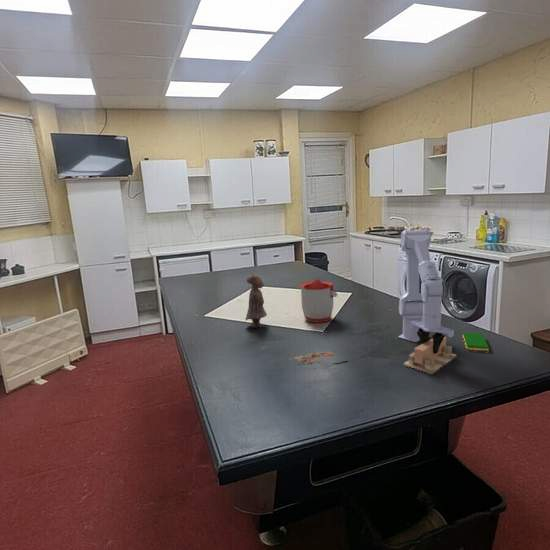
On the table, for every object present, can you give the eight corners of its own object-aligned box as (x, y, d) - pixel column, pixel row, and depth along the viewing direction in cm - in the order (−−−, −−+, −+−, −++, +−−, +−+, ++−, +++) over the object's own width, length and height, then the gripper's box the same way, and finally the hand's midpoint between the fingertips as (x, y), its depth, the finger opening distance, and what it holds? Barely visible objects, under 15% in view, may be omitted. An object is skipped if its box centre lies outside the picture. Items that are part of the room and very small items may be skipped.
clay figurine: (268, 329, 175) (265, 276, 170) (246, 332, 174) (242, 277, 169) (265, 320, 188) (262, 270, 182) (245, 322, 187) (241, 272, 181)
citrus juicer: (334, 325, 176) (333, 283, 171) (297, 323, 181) (296, 282, 177) (340, 315, 190) (339, 275, 186) (306, 313, 196) (304, 274, 192)
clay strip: (437, 348, 141) (438, 335, 140) (445, 350, 139) (446, 337, 138) (413, 361, 131) (414, 348, 130) (422, 364, 129) (422, 350, 128)
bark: (334, 349, 150) (334, 348, 150) (350, 361, 140) (350, 359, 139) (282, 361, 143) (282, 360, 143) (294, 374, 132) (294, 373, 132)
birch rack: (429, 349, 145) (429, 339, 144) (456, 357, 138) (456, 346, 137) (403, 365, 134) (403, 354, 133) (431, 374, 126) (431, 363, 125)
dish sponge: (466, 351, 143) (467, 345, 142) (462, 338, 156) (462, 332, 155) (488, 353, 140) (488, 347, 140) (482, 339, 153) (482, 333, 153)
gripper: (406, 312, 135) (405, 349, 138) (447, 321, 124) (445, 361, 127) (416, 308, 139) (415, 343, 142) (457, 316, 129) (455, 354, 131)
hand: (430, 351), depth 135 cm, fingers closed on clay strip, 3 cm apart
